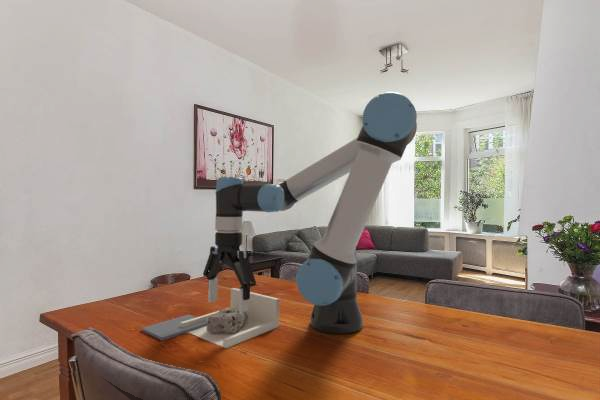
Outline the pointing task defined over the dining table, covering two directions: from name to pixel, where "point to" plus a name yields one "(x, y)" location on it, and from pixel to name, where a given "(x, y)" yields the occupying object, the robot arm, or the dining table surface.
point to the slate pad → (172, 327)
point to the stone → (226, 321)
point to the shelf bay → (259, 321)
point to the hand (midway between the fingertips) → (227, 306)
